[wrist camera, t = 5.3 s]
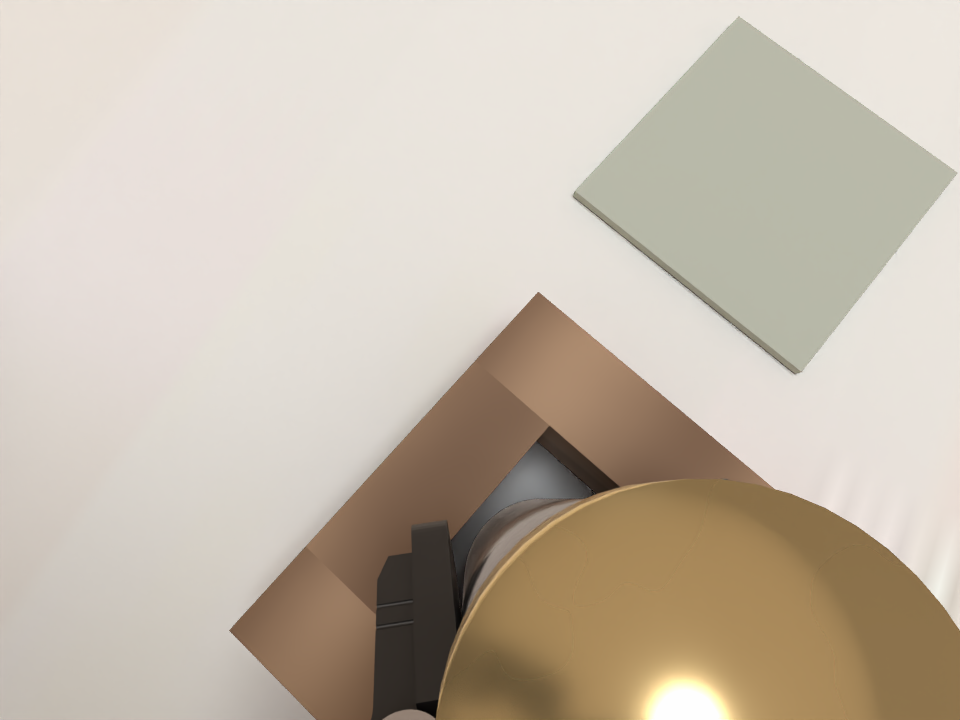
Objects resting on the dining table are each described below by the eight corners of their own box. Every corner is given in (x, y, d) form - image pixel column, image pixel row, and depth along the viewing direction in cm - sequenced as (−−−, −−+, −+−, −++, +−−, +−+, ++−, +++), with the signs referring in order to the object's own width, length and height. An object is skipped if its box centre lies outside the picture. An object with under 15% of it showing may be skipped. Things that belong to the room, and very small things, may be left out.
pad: (573, 196, 22) (575, 190, 22) (734, 23, 24) (738, 16, 24) (795, 374, 21) (801, 371, 21) (949, 178, 23) (957, 172, 22)
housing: (278, 603, 19) (229, 630, 15) (525, 329, 21) (538, 291, 17) (570, 895, 18) (598, 1008, 14) (807, 568, 20) (891, 586, 16)
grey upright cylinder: (422, 587, 19) (304, 811, 5) (534, 457, 20) (672, 370, 6) (553, 713, 18) (798, 1336, 5) (663, 572, 19) (1131, 750, 6)
